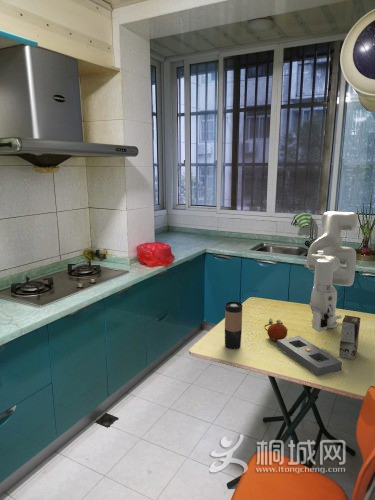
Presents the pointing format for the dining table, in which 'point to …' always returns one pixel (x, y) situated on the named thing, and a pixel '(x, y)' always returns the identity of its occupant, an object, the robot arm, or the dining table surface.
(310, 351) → the socket block
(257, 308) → the dining table surface
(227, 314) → the travel mug
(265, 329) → the extension cord
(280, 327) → the fruit
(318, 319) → the plug
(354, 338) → the coffee box
